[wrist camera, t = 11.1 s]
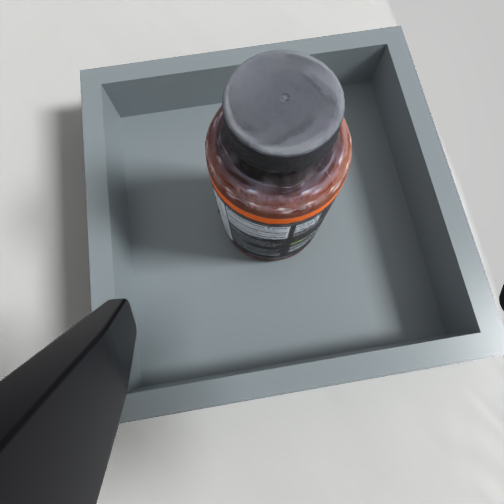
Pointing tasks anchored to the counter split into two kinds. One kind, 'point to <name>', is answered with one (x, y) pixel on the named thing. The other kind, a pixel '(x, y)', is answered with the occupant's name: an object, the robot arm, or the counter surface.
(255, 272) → the gray square tray
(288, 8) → the counter surface
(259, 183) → the supplement bottle
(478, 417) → the counter surface
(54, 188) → the counter surface
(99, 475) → the robot arm
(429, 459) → the counter surface
